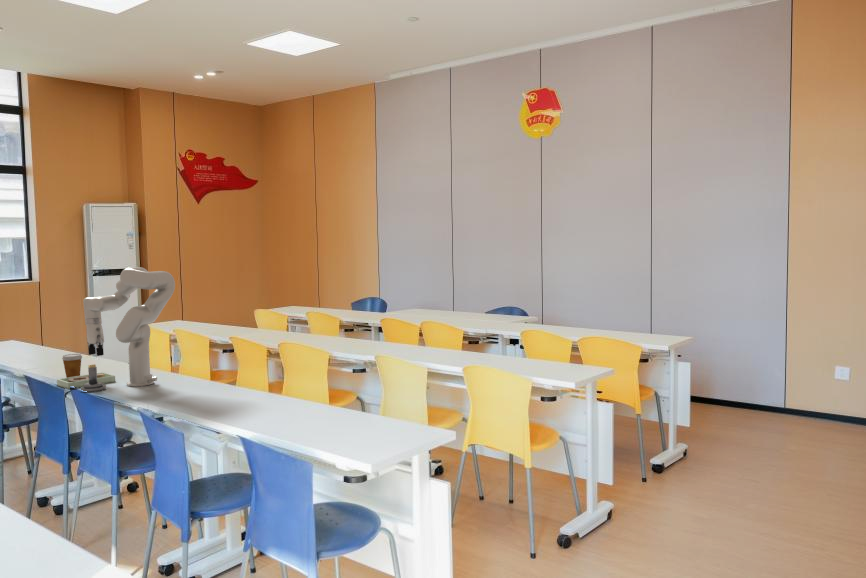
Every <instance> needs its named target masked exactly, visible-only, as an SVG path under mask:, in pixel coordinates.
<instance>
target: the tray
mask: <svg viewBox="0 0 866 578" xmlns="http://www.w3.org/2000/svg"><path fill="white" fill-rule="evenodd" d="M97 374H105V377H102V378H97V382H102V383H105V384H111V383H115V382H116V375H114V374H111V373H107V372H103V371H102V372H97ZM88 376H89V374H83V375H80V376H75V377H69V378H66V377H64V378H57V379H56V385H57V386H58V387H60V388H64V389H66V390H71V389H70V386H74V387H77V388H76V389H79V388H80V389H81V387H84V384H86V383H89V380H83V381H76V382H70V383H69V382H68V379H71V378H76V377H88Z"/></svg>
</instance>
